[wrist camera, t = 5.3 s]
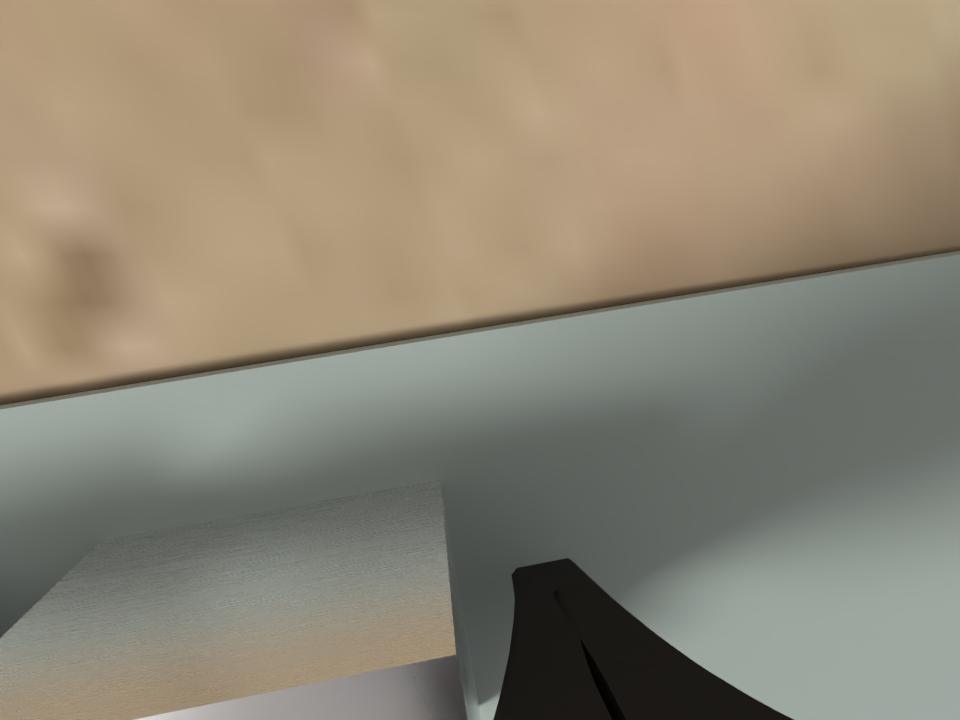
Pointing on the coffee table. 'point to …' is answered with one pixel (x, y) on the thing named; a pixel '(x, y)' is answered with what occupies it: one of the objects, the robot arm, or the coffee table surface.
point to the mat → (590, 473)
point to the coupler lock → (255, 621)
